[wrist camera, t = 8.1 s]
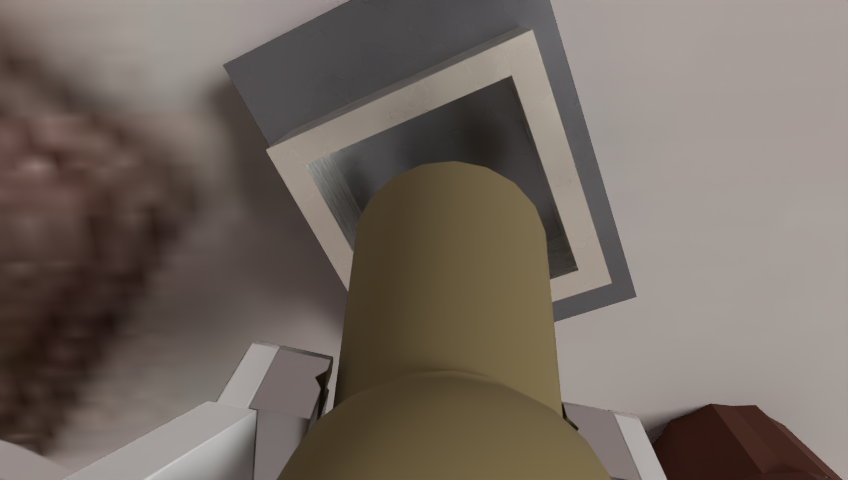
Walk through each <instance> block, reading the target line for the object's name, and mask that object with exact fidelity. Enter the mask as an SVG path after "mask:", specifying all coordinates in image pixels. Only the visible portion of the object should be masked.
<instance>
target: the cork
mask: <svg viewBox="0 0 848 480" xmlns="http://www.w3.org/2000/svg"><path fill="white" fill-rule="evenodd" d="M276 480H611V478H610V476H609V473H608V472H607V470H606V469H605V467H604V466H603V464H602V463H601V461H600V460H599V458H598V457H597V455H596V454H595V452H594V451H593V449H592V448H591V446H590V445H589V443H588V442H587V440H586V439H585V438H583V437H582V436H581V435H580V434H579V433H578V432H577V431H576V430H575V429H574V428H573V427H572V426H571V425H570V424H569V423H568V422H567V421H566V420H564V419H563V415H562V404H561V393H560V382H559V372H558V361H557V350H556V340H555V329H554V318H553V308H552V297H551V286H550V276H549V265H548V254H547V244H546V233H545V230H544V227H543V225H542V222H541V220H540V217H539V215H538V212H537V210H536V207H535V205H534V204H533V203H532V202H531V201H530V200H529V198H528V197H527V196H526V195H525V194H524V193H523V192H522V191H521V189H520V188H519V187H518V186H517V185H516V184H515V183H514V182H512V181H510V180H508V179H507V178H505V177H503V176H501V175H500V174H498V173H496V172H494V171H493V170H491V169H489V168H487V167H482V166H477V165H473V164H468V163H463V162H458V161H450V162H440V163H430V164H422V165H420V166H418V167H415V168H413V169H411V170H408V171H406V172H404V173H402V174H399V175H397V176H395V177H393V178H392V179H391V180H390V181H388V182H387V183H386V184H385V185H384V186H383V187H382V188H381V189H380V190H379V191H377V192H376V193H375V194H374V195H373V196H372V197H371V198H370V200H369V202H368V204H367V206H366V208H365V209H364V211H363V213H362V215H361V217H360V219H359V221H358V223H357V230H356V237H355V244H354V251H353V259H352V267H351V274H350V282H349V290H348V297H347V305H346V313H345V320H344V328H343V336H342V343H341V351H340V359H339V367H338V374H337V382H336V390H335V397H334V405H333V409H332V410H331V411H330V412H328V413H327V414H325V415H324V416H323V417H321V418H320V419H318V420H317V421H316V422H315V423H314V424H313V425H312V427H311V428H310V430H309V431H308V432H307V434H306V435H305V437H304V438H303V439H302V441H301V442H300V444H299V445H298V446H297V448H296V449H295V451H294V452H293V454H292V455H291V457H290V459H289V460H288V462H287V463H286V465H285V467H284V468H283V470H282V471H281V473H280V475H279V476H278V478H277V479H276Z"/></svg>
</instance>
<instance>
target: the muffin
mask: <svg viewBox="0 0 848 480" xmlns="http://www.w3.org/2000/svg"><path fill="white" fill-rule="evenodd" d="M652 448H653V450H654V452H655V454H656V457H657V459H658V461H659V463H660V465H661V467H662V470H663V472H664V474H665V476H666V478H667V480H842V479H841V478H840V477H839V476H838V475H837V474H836V473H835V472H834V471H832V470H831V469H830V468H829V467H828V466H827V465H826V464H825V463H824V462H823V461H822V460H821V459H820V458H818V457H817V456H816V455H815V454H814V453H813V452H812V451H811V450H810V449H809V448H808V447H807V446H806V445H805V444H803V443H802V442H801V441H800V440H799V439H798V438H797V437H796V436H795V435H794V434H793V433H792V432H791V431H789V430H788V429H787V428H786V427H785V426H784V425H783V424H781V423H779V422H777V421H775V420H774V419H772V418H770V417H768V416H767V415H766V414H765V413H764V412H763V411H761V410H760V409H759V408H758V407H757V406H756V405H749V406H728V405H718V404H709V405H707V406H705V407H703V408H701V409H699V410H697V411H695V412H693V413H691V414H689V415H686V416H683V417H680V418H677V419H674V420H671V421H670V422H669V423H668V425H667V426H666V428H665V430H664V431H663V433H662V435H661V436H660V437H659V438H658V439H657V440H656V441H655V442H654V443H653V445H652Z"/></svg>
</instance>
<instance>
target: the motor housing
mask: <svg viewBox="0 0 848 480" xmlns="http://www.w3.org/2000/svg"><path fill="white" fill-rule="evenodd" d="M223 66H224V68H225V69H226V71H227V73H228V75H229V76H230V78H231V80H232V82H233V83H234V85H235V87H236V88H237V90H238V92H239V94H240V95H241V97H242V99H243V101H244V102H245V104H246V106H247V108H248V109H249V111H250V113H251V115H252V116H253V118H254V120H255V122H256V123H257V125H258V127H259V128H260V130H261V132H262V134H263V135H264V137H265V139H266V141H267V142H268V144H269V146H270V147H269V148H267V149H266V151H267V153H268V155H269V156H270V158H271V160H272V162H273V163H274V165H275V167H276V169H277V170H278V172H279V174H280V175H281V177H282V179H283V181H284V182H285V184H286V186H287V187H288V189H289V191H290V193H291V194H292V196H293V198H294V200H295V201H296V203H297V205H298V206H299V208H300V210H301V212H302V213H303V215H304V217H305V218H306V220H307V222H308V224H309V225H310V227H311V229H312V231H313V232H314V234H315V236H316V237H317V239H318V241H319V243H320V244H321V246H322V248H323V249H324V251H325V253H326V255H327V256H328V258H329V260H330V262H331V263H332V265H333V267H334V268H335V270H336V272H337V274H338V275H339V277H340V279H341V280H342V282H343V284H344V286H345V287H346V289H347V291H348V290H349V282H350V274H351V267H352V259H353V251H354V244H355V237H356V230H357V223H358V221H359V219H360V217H361V215H362V213H363V211H364V209H365V208H366V206H367V204H368V202H369V200H370V198H371V197H372V196H373V195H374V194H375V193H376V192H377V191H379V190H380V189H381V188H382V187H383V186H384V185H385V184H386V183H387V182H388V181H390V180H391V179H392V178H393V177H395V176H397V175H399V174H402V173H404V172H406V171H408V170H411V169H413V168H415V167H418V166H420V165H422V164H430V163H440V162H450V161H458V162H463V163H468V164H473V165H477V166H482V167H487V168H489V169H491V170H493V171H494V172H496V173H498V174H500V175H501V176H503V177H505V178H507V179H508V180H510V181H512V182H514V183H515V184H516V185H517V186H518V187H519V188H520V189H521V191H522V192H523V193H524V194H525V195H526V196H527V197H528V198H529V200H530V201H531V202H532V203H533V204H534V205H535V207H536V210H537V212H538V215H539V217H540V220H541V222H542V225H543V227H544V230H545V233H546V244H547V254H548V265H549V276H550V286H551V297H552V308H553V318H554V322H556V321H559V320H563V319H566V318H569V317H572V316H576V315H579V314H582V313H585V312H589V311H592V310H595V309H598V308H602V307H605V306H608V305H611V304H615V303H618V302H621V301H625V300H628V299H631V298H634V297H636V293H635V290H634V286H633V283H632V280H631V276H630V273H629V269H628V266H627V262H626V259H625V256H624V252H623V249H622V245H621V242H620V239H619V235H618V232H617V228H616V225H615V221H614V218H613V215H612V211H611V208H610V204H609V201H608V198H607V194H606V191H605V187H604V184H603V180H602V177H601V174H600V170H599V167H598V163H597V160H596V157H595V153H594V150H593V146H592V143H591V139H590V136H589V133H588V129H587V126H586V122H585V119H584V116H583V112H582V109H581V105H580V102H579V98H578V95H577V92H576V88H575V85H574V81H573V78H572V75H571V71H570V68H569V64H568V61H567V57H566V54H565V51H564V47H563V44H562V40H561V37H560V33H559V30H558V27H557V23H556V20H555V16H554V13H553V10H552V6H551V3H550V0H350V1H348V2H346V3H344V4H342V5H340V6H338V7H336V8H334V9H332V10H330V11H328V12H326V13H324V14H322V15H320V16H318V17H316V18H315V19H313V20H311V21H309V22H307V23H305V24H303V25H301V26H299V27H297V28H295V29H293V30H291V31H289V32H287V33H285V34H283V35H281V36H279V37H277V38H275V39H273V40H271V41H269V42H267V43H265V44H263V45H261V46H260V47H258V48H256V49H254V50H252V51H250V52H248V53H246V54H244V55H242V56H240V57H238V58H236V59H234V60H232V61H230V62H228V63H226V64H224V65H223Z"/></svg>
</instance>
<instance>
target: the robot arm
mask: <svg viewBox="0 0 848 480" xmlns="http://www.w3.org/2000/svg"><path fill="white" fill-rule="evenodd" d="M332 366H333V357H332V356H327V355H323V354H318V353H314V352H309V351H305V350H300V349H296V348H291V347H286V346H279V345H275V344H270V343H266V342H261V341H257V340H256V341H255V342H253V343H252V344H251V345H250V346H249V348H248V349H247V351H246V353H245V354H244V356H243V358H242V359H241V361H240V363H239V364H238V366H237V368H236V369H235V371H234V373H233V374H232V376H231V377H230V379H229V381H228V382H227V384H226V386H225V387H224V389H223V391H222V392H221V394H220V396H219V397H218V399H217V400H216V402H210V401H206V402H204V403H202V404H200V405H199V406H197V407H195V408H193V409H191V410H189V411H188V412H186V413H184V414H182V415H180V416H178V417H177V418H175V419H173V420H171V421H169V422H167V423H165V424H164V425H162V426H160V427H158V428H156V429H154V430H153V431H151V432H149V433H147V434H145V435H143V436H141V437H140V438H138V439H136V440H134V441H132V442H130V443H129V444H127V445H125V446H123V447H121V448H119V449H118V450H116V451H114V452H112V453H110V454H108V455H106V456H105V457H103V458H101V459H99V460H97V461H95V462H94V463H92V464H90V465H88V466H86V467H84V468H82V469H81V470H79V471H77V472H75V473H73V474H71V475H70V476H68V477H66V478H64V479H63V480H276V479H277V478H278V476H279V475H280V473H281V471H282V470H283V468H284V467H285V465H286V463H287V462H288V460H289V459H290V457H291V455H292V454H293V452H294V451H295V449H296V448H297V446H298V445H299V444H300V442H301V441H302V439H303V438H304V437H305V435H306V434H307V432H308V431H309V430H310V428H311V427H312V425H313V424H314V423H315V422H316V421H317V420H318V419H320V418H321V417H323V416H324V414H325V410H326V405H327V400H328V393H329V390H328V388H327V386H328V382H329V379H330V376H331V373H332ZM561 404H562V415H563V419H564V420H566V421H567V422H568V423H569V424H570V425H571V426H572V427H573V428H574V429H575V430H576V431H577V432H578V433H579V434H580V435H581V436H582V437H583V438H585V439H586V440H587V442H588V443H589V445H590V446H591V448H592V449H593V451H594V452H595V454H596V455H597V457H598V458H599V460H600V461H601V463H602V464H603V466H604V467H605V469H606V470H607V472H608V473H609V476H610V478H611V480H667V478H666V476H665V474H664V472H663V470H662V467H661V465H660V463H659V461H658V459H657V457H656V454H655V452H654V450H653V448H652V446H651V444H650V441H649V439H648V437H647V435H646V433H645V430H644V428H643V426H642V424H641V422H640V420H639V418H637V417H636V416H635V415H634V414H629V413H623V412H618V411H612V410H608V411H607V410H604V409H599V408H594V407H588V406H583V405H578V404H572V403H567V402H562V401H561Z"/></svg>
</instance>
